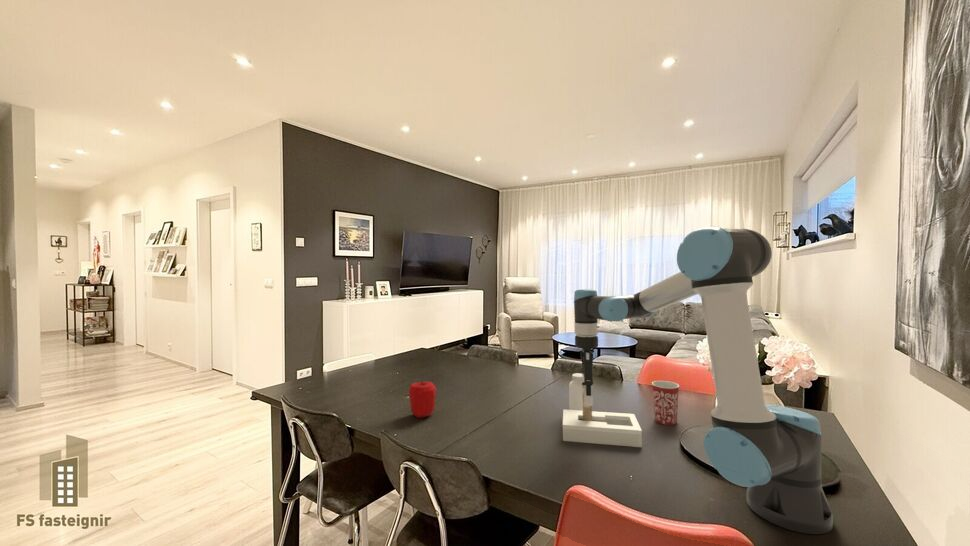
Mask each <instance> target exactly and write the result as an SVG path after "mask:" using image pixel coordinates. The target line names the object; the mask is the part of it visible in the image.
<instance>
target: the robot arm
mask: <svg viewBox="0 0 970 546" xmlns="http://www.w3.org/2000/svg"><path fill="white" fill-rule="evenodd" d="M772 255H773V252H772V248H771V244H770V242H769V241H768V239H767V238H766V237H765V236H764V235H762V234H761V232H757V231H755V230H753V229H749V228H748V229H747V228H733V227H732V228H731V227H721V226H711V227H700V228H697V229H694V230H692V231H691V232H689V233H688V234H687V235H686V236H685V237H684V239H683V240H682V242H681V243H679V246H678V249H677V252H676V263H677V267H678V269H679V272H677V273H675V274H673V275H671V276H669V277H667V278H665V279H663V280H661V281H659V282H657V283H654V284H653V285H651V286H649V287H647V288H645V289H643V290H641V291H639V292H637V293H635V294H627V295H609V296H608V295H607V296H604V295H603V296H602V295H598V292H597V290H596V289H593V288H590V289H588V288H587V289H585V288H584V289H576V290H574V295H573V309H574V310H573V311H574V334H575V336H574V345H575V347H576V348H579V349H581V350H582V351H580V359H581V366H582V367H581V369H582V371H581V372H582V378H583V382H582V385H584V405H588V406H592V407H593V406H594V387H593V385H594V382H593V380H594V379H593V366H594V365H593V364H594V363H593V362H594V360H593V359H594V353H593V351H591V349H596V348H598V346H599V336H598V333H599V332H598V331H599V330H598V329H600V328H601V327H600V325H599V324H598V320H601V321H608V322H611V323H612V322H617V323H618V322H621V321H623V320H628V319H645V318H650V317H653V316H654V315H655V314H656V313H657V312H658V311H660V310H662V309H665V308H667V307H669V306H672V305H674V304H678V303H679V302H682V301H684V300H686V299H689V298H692V297H693V296H696V295H697V296H698V295H699V297H700V300H701V305H702V312H703V316H704V317H703V318H704V325H705V332H706V337H707V338H706V339H707V343H708V351H709V358H710V363H711V371H712V376H713V377H712V378H713V383H714V389H715V397H716V402H717V404H716V406H715V407H714V408H713V409H712V410H711V411H710V415H711V424H712V427H711V428H710V429H709V430H708V431H707V433H706V434H705V435H704V438H703V448H704V453H705V455H706V458H707V459H708V461H709V462H710V464H711V466H712V467H713V469H715V470H717V472H718V474H719V475H720V476H721V477H723V479H726V480H727V481H729V482H730V483H732V484H735V485H736V486H739V487H744V488H746V503H747V505H748V507H749V508H750V510H752V511H753V512H754V513H755V514H756V515H757V516H759V517H760V518H762V519H764V520H765V521H768V522H769V523H771V524H774V525H776V526H778V527H780V528H784V529H785V530H789V531H793V532H797V533H800V534H806V535H809V534H810V535H823V534H827V533H829V532H831V531H832V530H833V528H834V526H833V525H834V522H833V521H834V517H833V513H832V510H831V508H830V504H829V503H828V499H827V497H826V494H825V492H824V490H823V487H822V436H823V432H822V431H821V422H820V420H819V419H818V418H817V417H816V416H814V415H812V414H811V413H807V412H805V411H802V410H798V409H795V408H791V407H787V406H782V405H778V404H777V405H775V404H769V403H766V402H765V401H766V400H765V397H764V390H763V384H762V379H761V378H762V377H761V373H760V367H759V362H758V361H759V360H758V356H757V355H758V354H757V349H756V344H755V343H756V342H755V338H754V332H753V325H752V319H751V314H750V313H751V312H750V309H749V308H750V307H749V303H748V302H749V301H748V297H747V293H748V290H750V288H751V287H752V286H753V285H754V281H753V277H756V276H758V275H759V274H761V273H763V272H764V271H765V270H766V269H767V267H768V266H769V265H770V263H771V259H772Z"/></svg>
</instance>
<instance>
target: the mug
mask: <svg viewBox="0 0 970 546" xmlns="http://www.w3.org/2000/svg"><path fill="white" fill-rule="evenodd" d="M651 386H652V395H653V397H652V398H653V410H654V411H653V412H654V421H656V422H657V423H658V424H661V425H664V426H665V425H667V426H674V425H676V424H677V422H678V406H679V392H680V391H679V389H680V384H678V383H677V382H673V381H668V380H654V381H651Z"/></svg>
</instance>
